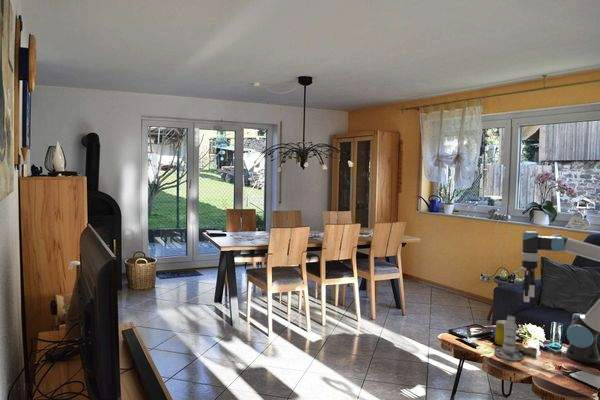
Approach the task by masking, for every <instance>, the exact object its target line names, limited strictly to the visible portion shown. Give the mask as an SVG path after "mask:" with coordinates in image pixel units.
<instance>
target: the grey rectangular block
mask: <svg viewBox="0 0 600 400" xmlns="http://www.w3.org/2000/svg"><path fill="white" fill-rule="evenodd" d="M515 344H516V351H519V352H520V353H521V354H522V355H526V356H531V357H534V358H536V357H537V353H538V349H537V348H536V347H532V346H529V345H528V346H527V345H524V344H519V343H515Z"/></svg>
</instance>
